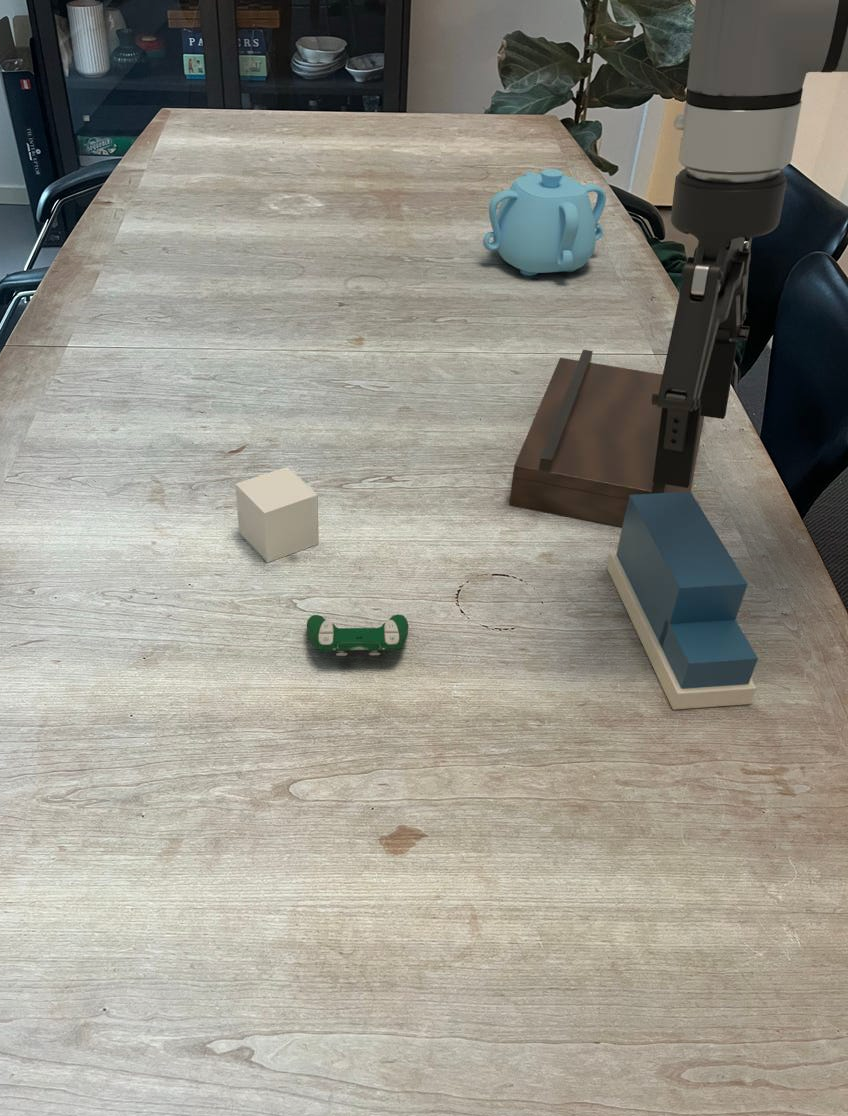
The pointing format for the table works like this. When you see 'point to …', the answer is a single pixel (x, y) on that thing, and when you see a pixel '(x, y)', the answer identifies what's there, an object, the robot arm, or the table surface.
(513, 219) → the decorative pot
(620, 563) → the trainer
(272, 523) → the beige cube
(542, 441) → the shoe shelf
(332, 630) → the gaming controller
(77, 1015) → the table surface
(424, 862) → the table surface
